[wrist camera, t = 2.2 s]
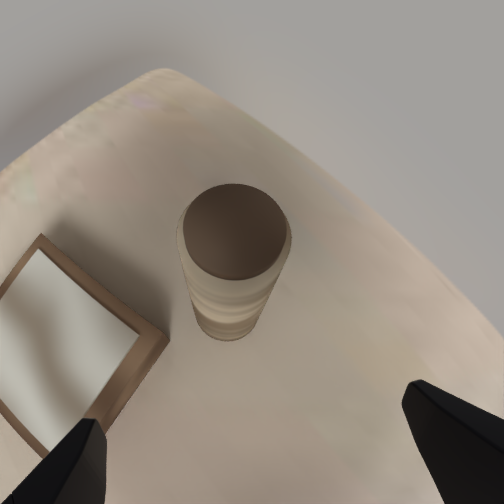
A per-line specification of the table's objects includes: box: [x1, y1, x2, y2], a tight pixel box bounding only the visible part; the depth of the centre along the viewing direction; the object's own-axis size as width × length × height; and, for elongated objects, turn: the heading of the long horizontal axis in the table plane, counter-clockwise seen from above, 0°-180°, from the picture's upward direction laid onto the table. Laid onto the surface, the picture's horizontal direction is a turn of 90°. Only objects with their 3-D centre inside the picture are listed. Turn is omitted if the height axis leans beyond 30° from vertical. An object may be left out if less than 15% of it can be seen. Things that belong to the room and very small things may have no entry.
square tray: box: [0, 233, 170, 459], centre depth 18 cm, size 12×12×3 cm
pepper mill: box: [176, 184, 292, 341], centre depth 17 cm, size 4×4×12 cm
